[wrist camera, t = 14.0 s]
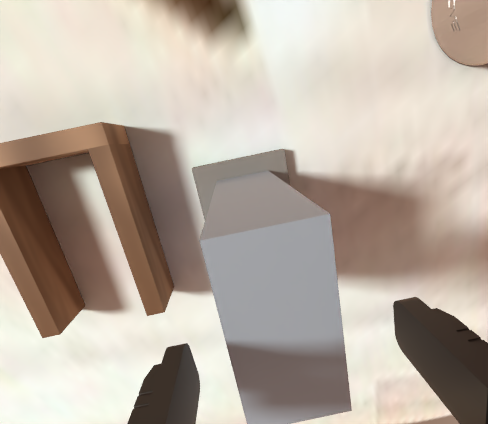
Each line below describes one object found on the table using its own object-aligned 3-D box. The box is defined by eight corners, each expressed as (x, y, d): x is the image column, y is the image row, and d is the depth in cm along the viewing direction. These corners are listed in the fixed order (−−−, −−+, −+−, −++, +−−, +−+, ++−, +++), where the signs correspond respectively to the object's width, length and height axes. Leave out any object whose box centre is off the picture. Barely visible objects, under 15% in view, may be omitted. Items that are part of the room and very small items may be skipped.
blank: (268, 170, 22) (330, 213, 9) (283, 263, 25) (351, 410, 11) (216, 180, 22) (199, 240, 9) (237, 273, 25) (249, 431, 11)
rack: (123, 125, 21) (101, 122, 18) (174, 286, 26) (164, 312, 22) (0, 151, 21) (-50, 153, 18) (70, 308, 26) (42, 338, 22)
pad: (281, 148, 23) (284, 149, 22) (300, 269, 26) (303, 273, 25) (193, 167, 23) (191, 168, 22) (223, 285, 26) (222, 290, 25)
